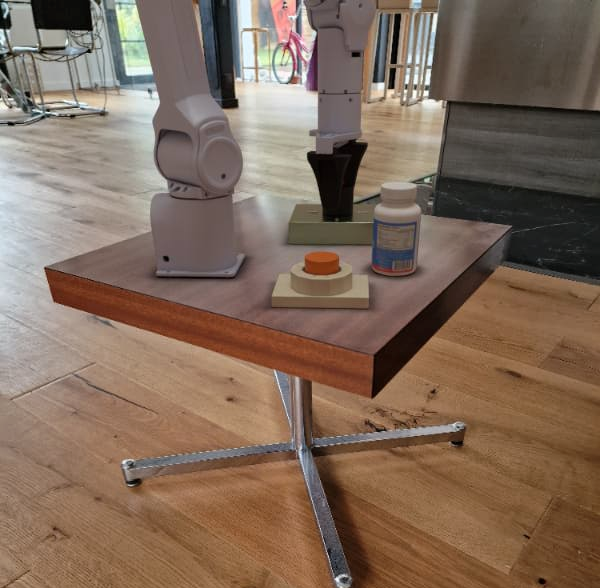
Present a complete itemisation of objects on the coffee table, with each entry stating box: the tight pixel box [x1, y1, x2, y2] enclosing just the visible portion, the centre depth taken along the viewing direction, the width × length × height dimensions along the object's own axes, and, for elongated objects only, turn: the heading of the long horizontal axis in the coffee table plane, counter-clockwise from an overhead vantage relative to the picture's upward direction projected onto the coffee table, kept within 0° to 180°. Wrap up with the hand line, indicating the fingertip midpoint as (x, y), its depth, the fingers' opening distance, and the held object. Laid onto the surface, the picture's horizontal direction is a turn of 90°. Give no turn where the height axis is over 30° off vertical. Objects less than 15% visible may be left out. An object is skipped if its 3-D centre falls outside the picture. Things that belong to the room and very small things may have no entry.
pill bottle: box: [371, 181, 422, 277], centre depth 66 cm, size 6×5×10 cm
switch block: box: [271, 260, 370, 309], centre depth 61 cm, size 10×7×3 cm
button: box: [304, 250, 340, 275], centre depth 60 cm, size 4×4×2 cm
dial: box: [322, 181, 355, 216], centre depth 80 cm, size 4×4×4 cm
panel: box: [288, 203, 379, 246], centre depth 82 cm, size 13×11×3 cm
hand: (337, 202), depth 81 cm, fingers open, 7 cm apart
